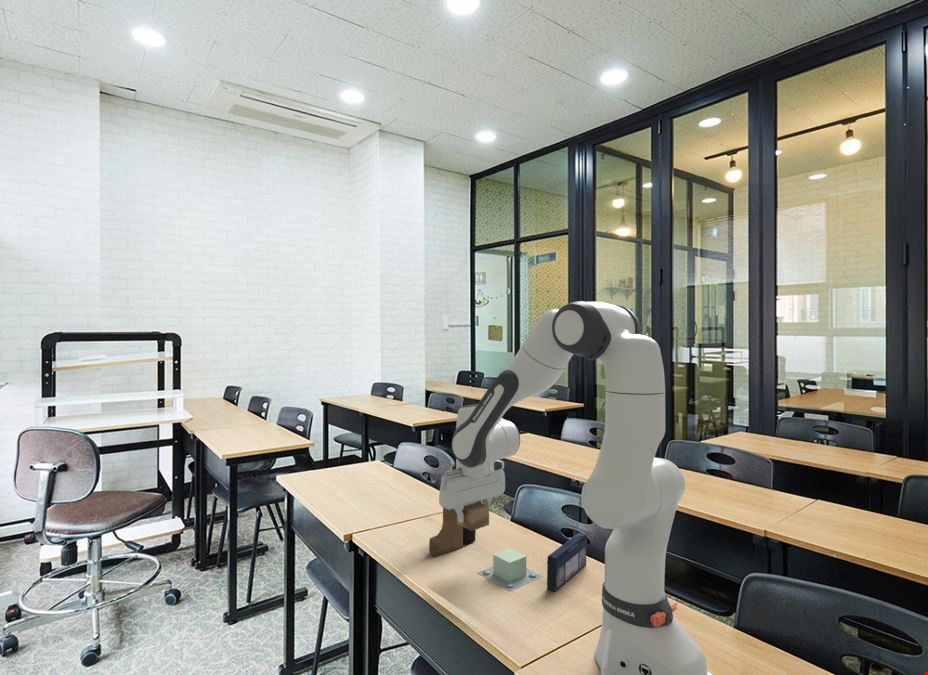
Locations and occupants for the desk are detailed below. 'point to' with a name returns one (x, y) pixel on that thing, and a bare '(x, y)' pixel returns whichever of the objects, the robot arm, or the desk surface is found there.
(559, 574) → the vhs cassette tape
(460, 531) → the wooden block
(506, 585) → the base plate
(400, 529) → the desk surface
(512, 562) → the green brick
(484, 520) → the walnut brick
